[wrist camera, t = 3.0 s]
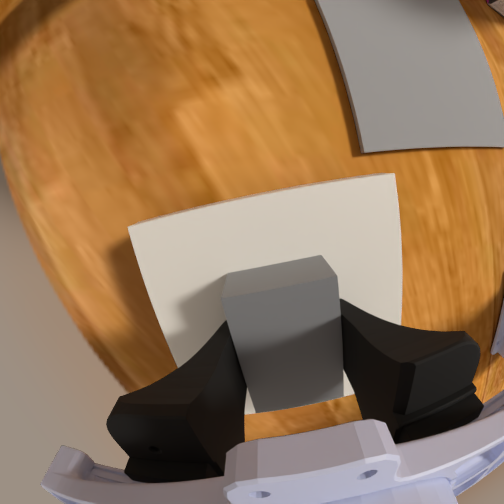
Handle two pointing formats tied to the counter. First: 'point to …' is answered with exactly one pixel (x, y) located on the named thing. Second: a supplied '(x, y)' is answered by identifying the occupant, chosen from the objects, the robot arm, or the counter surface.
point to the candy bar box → (497, 6)
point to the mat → (414, 74)
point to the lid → (277, 280)
